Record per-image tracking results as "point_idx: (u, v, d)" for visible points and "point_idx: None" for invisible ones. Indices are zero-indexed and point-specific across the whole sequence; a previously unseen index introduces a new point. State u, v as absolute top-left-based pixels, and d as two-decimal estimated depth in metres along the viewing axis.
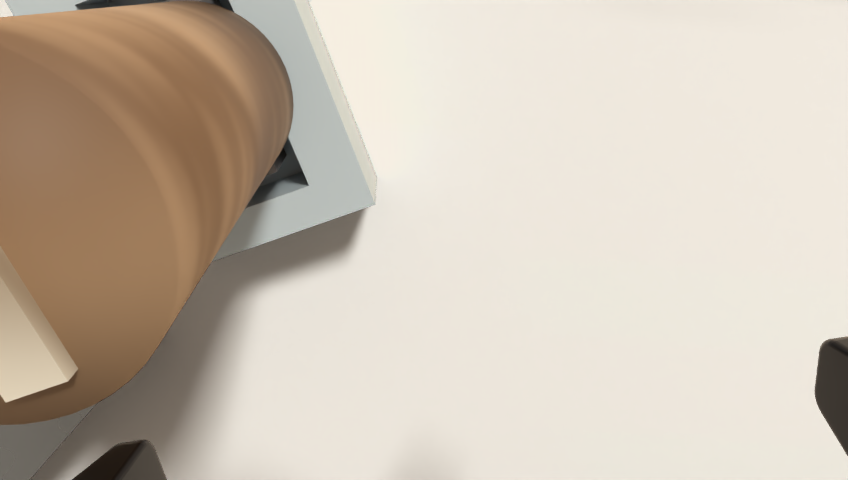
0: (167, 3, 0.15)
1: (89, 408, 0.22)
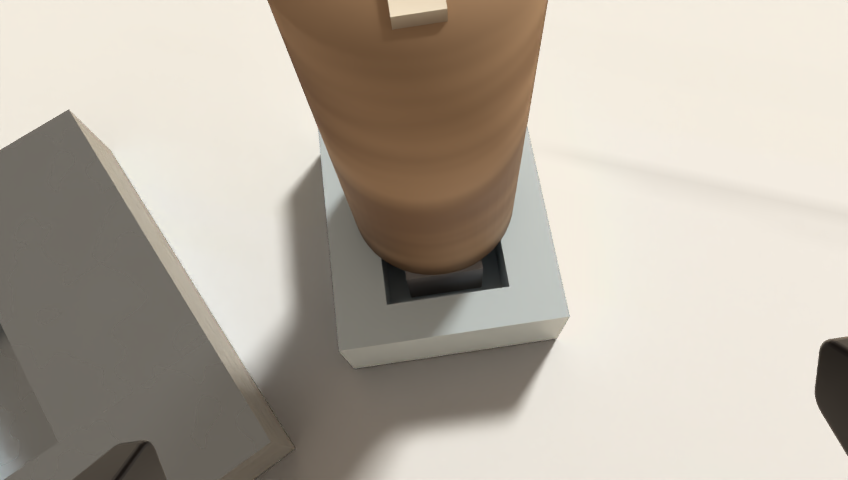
0: None
1: None
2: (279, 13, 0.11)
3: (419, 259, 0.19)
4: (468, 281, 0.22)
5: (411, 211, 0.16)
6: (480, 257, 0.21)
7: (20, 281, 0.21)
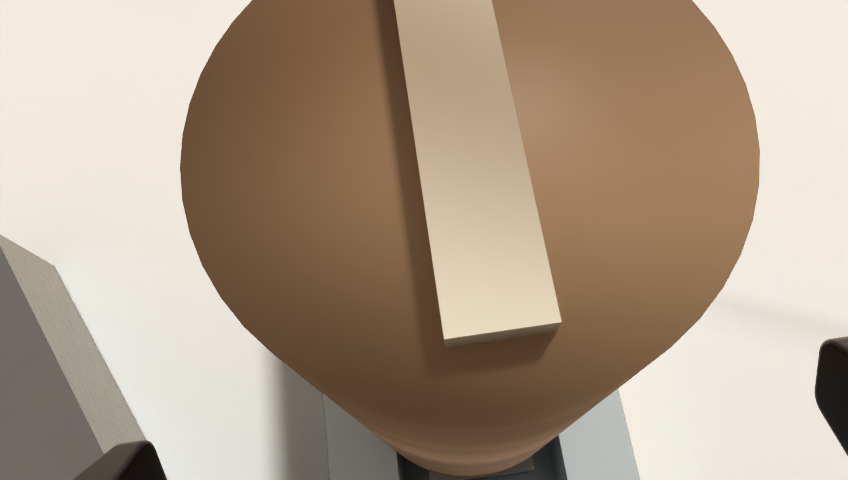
0: None
1: None
2: (223, 298, 0.06)
3: (450, 473, 0.14)
4: (511, 474, 0.16)
5: (447, 463, 0.11)
6: (531, 455, 0.15)
7: None
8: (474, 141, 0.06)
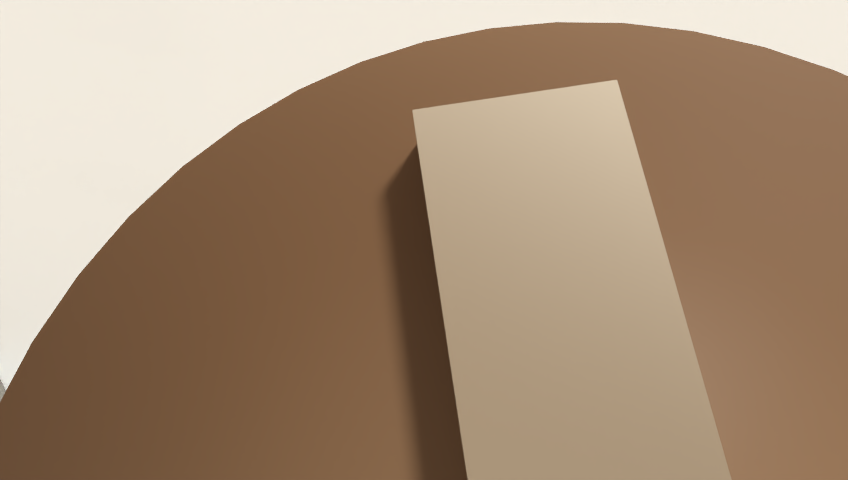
0: None
1: None
2: None
3: None
4: None
5: None
6: None
7: None
8: None
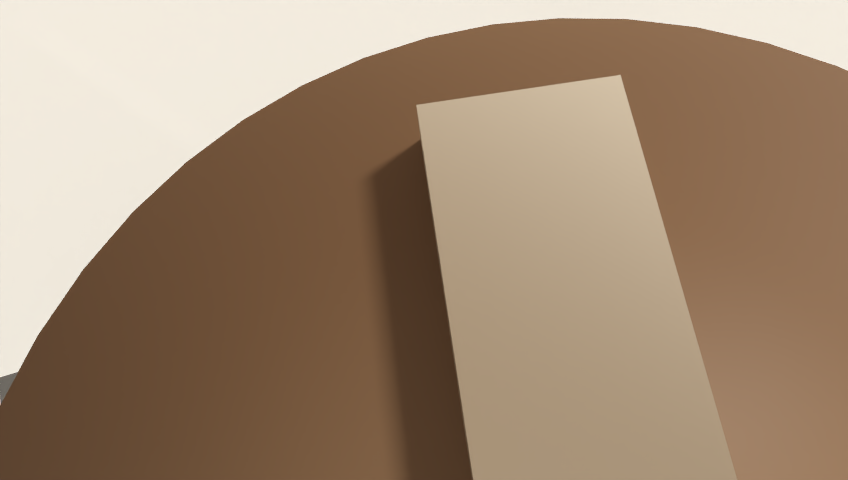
0: None
1: None
2: None
3: None
4: None
5: None
6: None
7: None
8: None
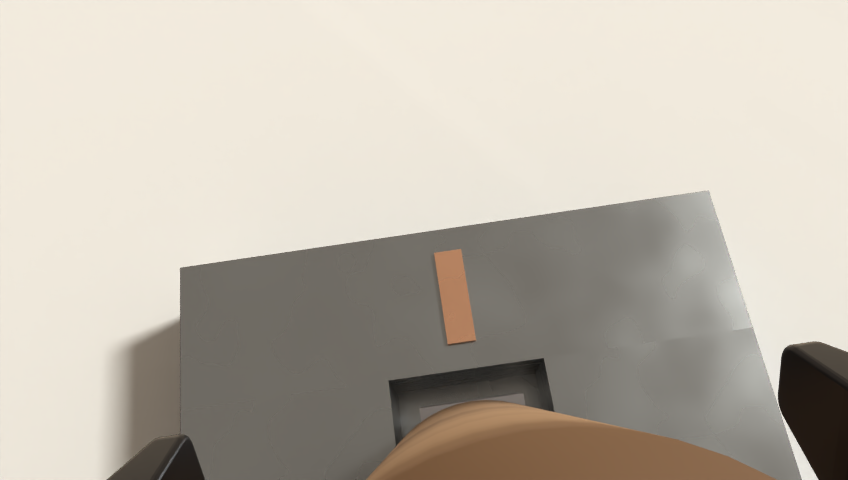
0: None
1: None
2: None
3: None
4: None
5: None
6: None
7: (600, 404, 0.16)
8: None
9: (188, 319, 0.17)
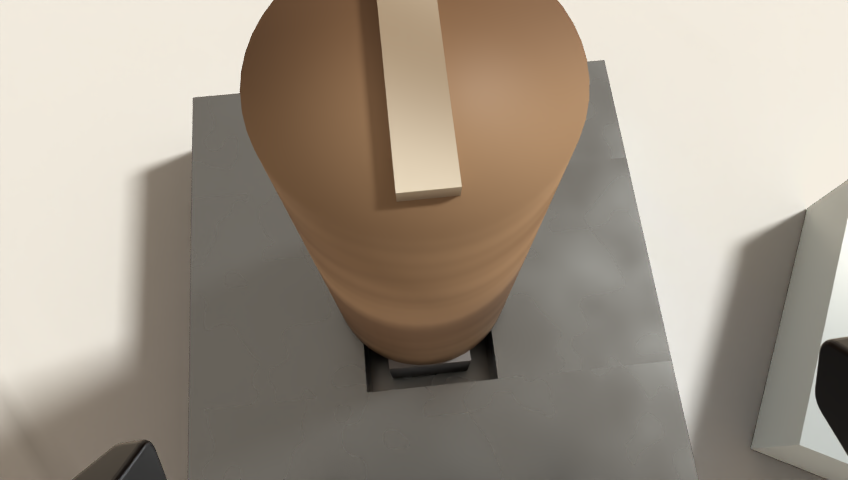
0: None
1: None
2: (266, 170, 0.10)
3: (404, 355, 0.18)
4: (454, 367, 0.21)
5: (400, 329, 0.15)
6: (469, 349, 0.19)
7: None
8: (420, 84, 0.10)
9: (199, 134, 0.22)
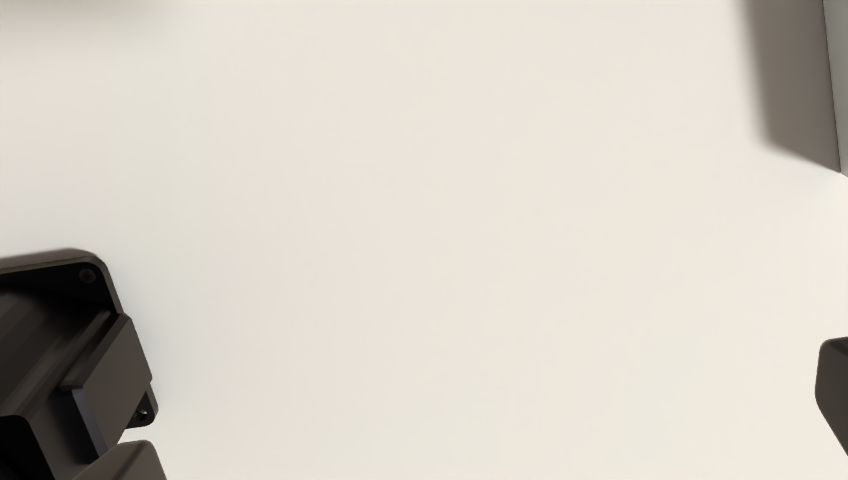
0: None
1: None
2: None
3: None
4: None
5: None
6: None
7: None
8: None
9: None
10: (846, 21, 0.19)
